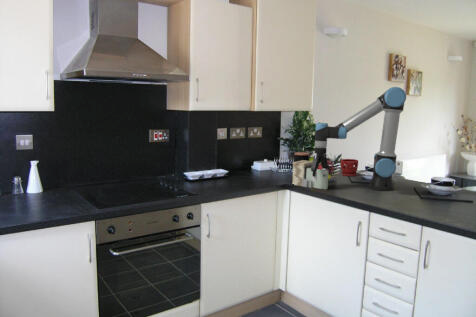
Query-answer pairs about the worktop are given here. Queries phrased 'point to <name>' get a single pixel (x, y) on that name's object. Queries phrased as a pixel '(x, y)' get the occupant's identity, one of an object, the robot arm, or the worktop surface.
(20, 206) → the worktop surface
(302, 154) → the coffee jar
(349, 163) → the plant pot
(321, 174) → the cabinet door
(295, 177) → the cabinet
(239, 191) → the worktop surface
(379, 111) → the robot arm
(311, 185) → the hinge clips
